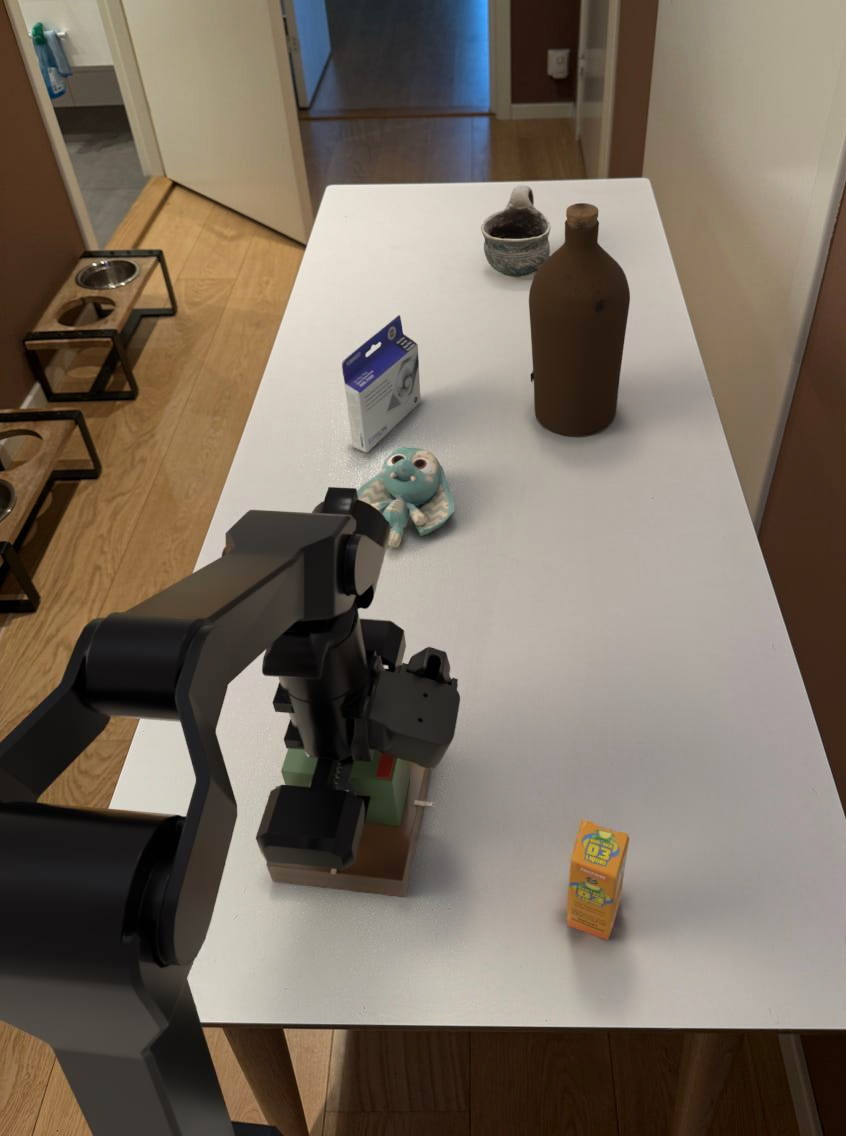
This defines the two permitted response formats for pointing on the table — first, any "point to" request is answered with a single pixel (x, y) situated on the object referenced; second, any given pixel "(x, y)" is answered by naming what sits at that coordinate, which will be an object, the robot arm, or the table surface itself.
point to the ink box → (381, 385)
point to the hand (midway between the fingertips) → (353, 795)
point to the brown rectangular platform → (373, 851)
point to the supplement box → (596, 878)
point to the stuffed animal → (409, 492)
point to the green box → (361, 782)
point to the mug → (517, 236)
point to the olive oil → (578, 330)
